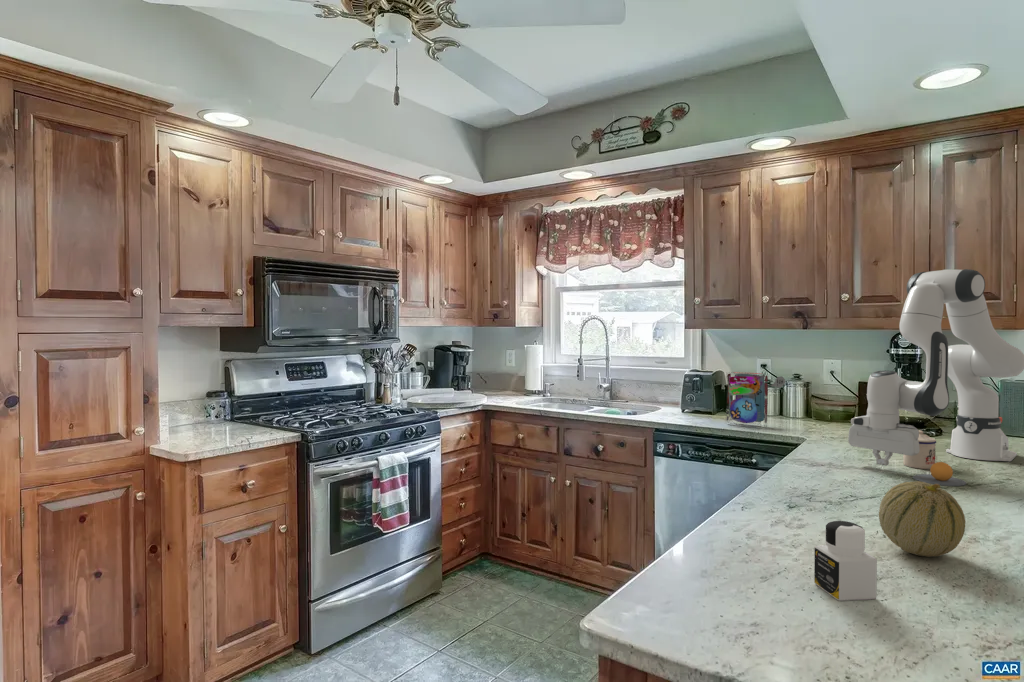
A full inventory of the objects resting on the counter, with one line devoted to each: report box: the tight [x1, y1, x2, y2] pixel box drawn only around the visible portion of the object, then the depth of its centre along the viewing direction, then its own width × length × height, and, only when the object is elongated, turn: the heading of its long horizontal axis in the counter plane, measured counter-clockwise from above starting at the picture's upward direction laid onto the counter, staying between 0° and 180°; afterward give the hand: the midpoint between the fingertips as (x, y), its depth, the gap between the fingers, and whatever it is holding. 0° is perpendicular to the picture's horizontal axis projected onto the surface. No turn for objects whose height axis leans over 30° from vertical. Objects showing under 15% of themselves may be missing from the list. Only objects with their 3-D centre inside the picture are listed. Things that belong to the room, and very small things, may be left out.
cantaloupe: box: [878, 480, 967, 558], centre depth 123 cm, size 15×15×15 cm
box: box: [725, 371, 786, 429], centre depth 272 cm, size 25×6×24 cm, turn 50°
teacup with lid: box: [902, 429, 937, 470], centre depth 198 cm, size 12×9×12 cm
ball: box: [929, 461, 954, 481], centre depth 179 cm, size 6×6×6 cm
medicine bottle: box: [813, 520, 878, 602], centre depth 106 cm, size 7×7×12 cm
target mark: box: [912, 473, 967, 487], centre depth 179 cm, size 13×13×1 cm
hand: (882, 464), depth 193 cm, fingers closed
